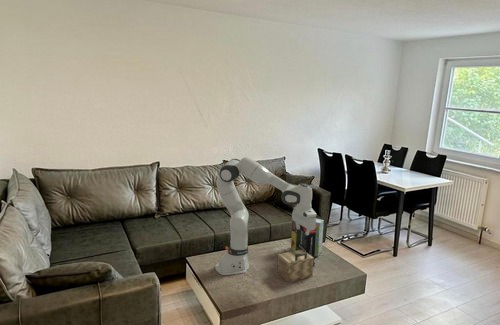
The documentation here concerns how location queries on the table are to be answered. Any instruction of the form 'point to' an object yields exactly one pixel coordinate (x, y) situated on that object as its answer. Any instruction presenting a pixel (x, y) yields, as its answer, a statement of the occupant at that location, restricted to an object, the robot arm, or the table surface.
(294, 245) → the snack box
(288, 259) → the carton lid
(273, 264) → the table surface
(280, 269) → the carton
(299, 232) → the graphics card box
